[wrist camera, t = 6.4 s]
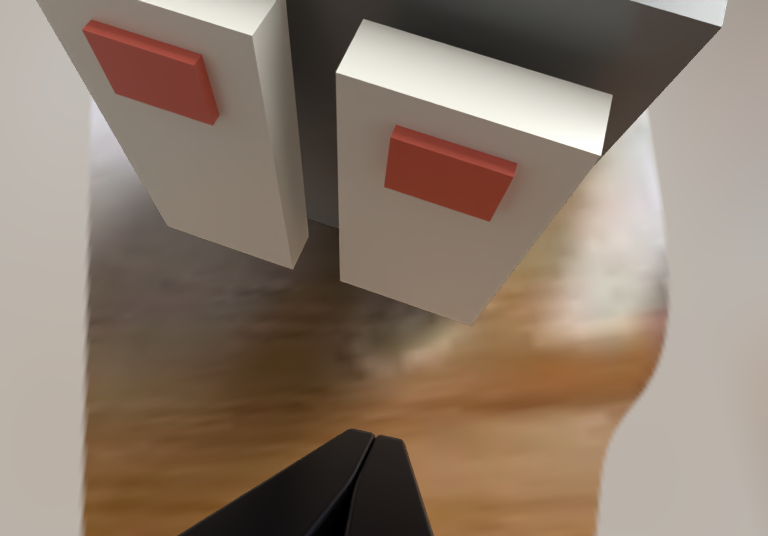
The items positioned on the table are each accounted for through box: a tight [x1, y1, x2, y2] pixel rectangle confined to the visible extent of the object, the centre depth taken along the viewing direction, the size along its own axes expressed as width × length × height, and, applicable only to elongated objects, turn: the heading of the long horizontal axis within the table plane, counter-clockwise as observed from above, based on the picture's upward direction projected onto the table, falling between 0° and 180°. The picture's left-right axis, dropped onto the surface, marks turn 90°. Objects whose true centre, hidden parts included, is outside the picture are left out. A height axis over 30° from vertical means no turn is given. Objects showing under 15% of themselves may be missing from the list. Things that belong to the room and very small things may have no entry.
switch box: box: [286, 0, 727, 229], centre depth 14 cm, size 5×11×14 cm, turn 71°
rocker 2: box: [336, 19, 613, 326], centre depth 11 cm, size 2×4×8 cm, turn 71°
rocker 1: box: [36, 0, 309, 270], centre depth 11 cm, size 2×4×8 cm, turn 71°
